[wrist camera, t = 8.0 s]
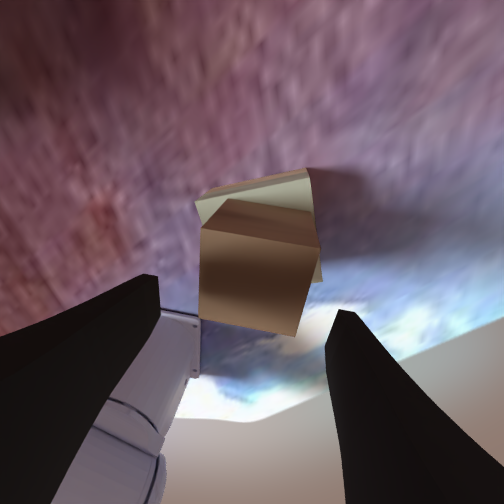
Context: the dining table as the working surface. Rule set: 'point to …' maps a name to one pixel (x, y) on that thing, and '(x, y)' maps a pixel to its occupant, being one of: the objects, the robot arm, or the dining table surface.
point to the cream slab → (265, 197)
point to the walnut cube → (257, 266)
